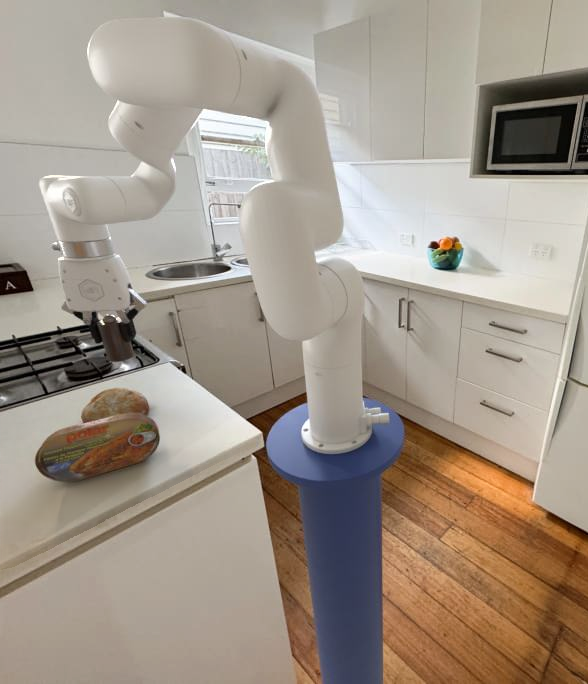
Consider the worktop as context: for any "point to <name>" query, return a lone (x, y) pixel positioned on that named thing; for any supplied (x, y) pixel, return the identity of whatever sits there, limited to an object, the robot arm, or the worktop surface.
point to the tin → (97, 447)
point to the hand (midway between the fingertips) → (116, 339)
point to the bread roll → (115, 404)
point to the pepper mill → (114, 339)
